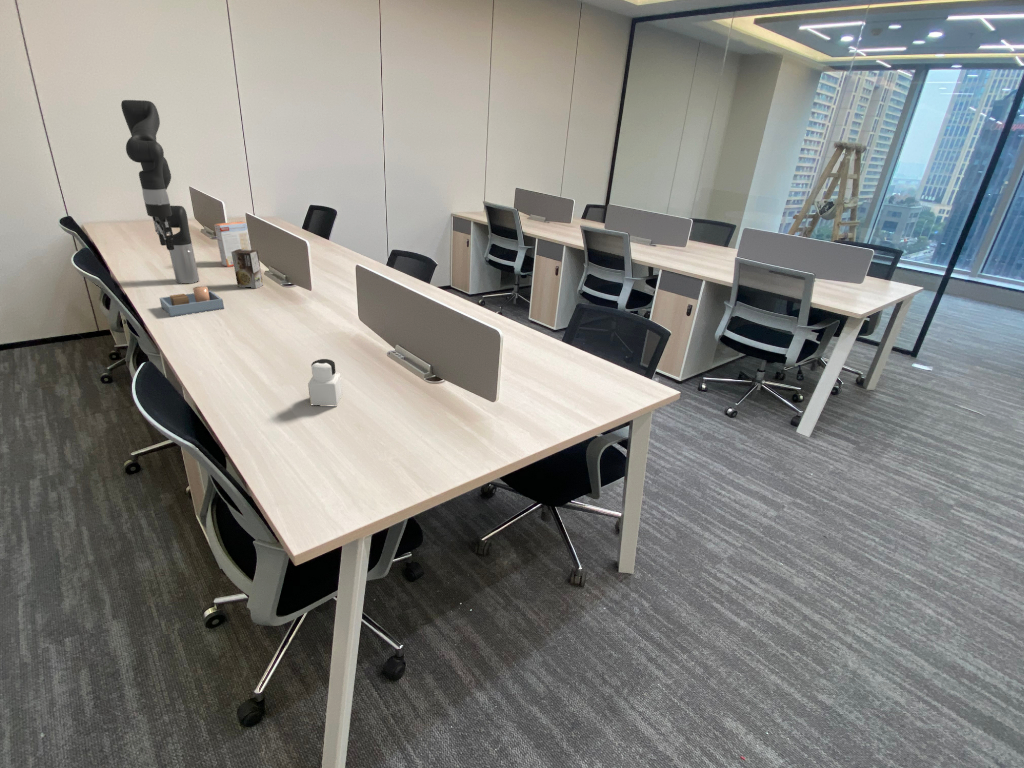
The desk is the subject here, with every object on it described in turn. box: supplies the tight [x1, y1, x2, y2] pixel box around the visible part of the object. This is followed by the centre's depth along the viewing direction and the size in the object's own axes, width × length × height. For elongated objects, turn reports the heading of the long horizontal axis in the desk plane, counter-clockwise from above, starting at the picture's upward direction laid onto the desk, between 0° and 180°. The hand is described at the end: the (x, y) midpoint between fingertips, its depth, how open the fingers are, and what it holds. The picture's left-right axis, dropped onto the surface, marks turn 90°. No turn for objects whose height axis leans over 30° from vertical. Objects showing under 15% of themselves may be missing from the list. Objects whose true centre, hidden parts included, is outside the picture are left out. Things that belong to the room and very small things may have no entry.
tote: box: [159, 290, 225, 318], centre depth 202 cm, size 14×19×4 cm
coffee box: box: [231, 249, 264, 289], centre depth 231 cm, size 9×6×16 cm
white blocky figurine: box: [307, 358, 343, 406], centre depth 141 cm, size 7×7×12 cm
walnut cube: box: [169, 293, 189, 306], centre depth 199 cm, size 5×5×5 cm
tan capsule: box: [192, 285, 210, 302], centre depth 204 cm, size 5×5×7 cm
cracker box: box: [213, 221, 252, 268], centre depth 263 cm, size 14×6×21 cm, turn 144°
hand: (167, 247), depth 190 cm, fingers open, 8 cm apart
